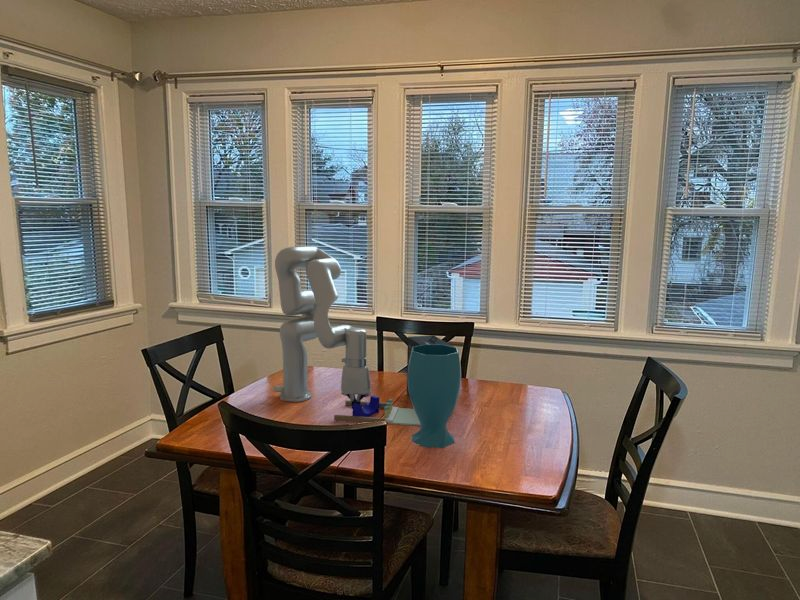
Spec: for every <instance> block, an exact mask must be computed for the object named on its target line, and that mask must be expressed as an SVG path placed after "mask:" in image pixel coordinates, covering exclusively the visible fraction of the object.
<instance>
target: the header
mask: <svg viewBox="0 0 800 600" xmlns="http://www.w3.org/2000/svg"><path fill="white" fill-rule="evenodd" d="M393 401H394V400H393V398H388V399H387V402H380V401H379V409H383V410H384V412H383V413H384V414H383V417H374V416H370V417H360V416H353V415H341V414H334V415H333V421H334V420H336V421H335V422H339V421H345V422H344V423H353V424H354V423H355V424H357V423H358V424H363V423H362V422H375V421H386V422H387V423H388V424H387V425H398V424H400V426H401V425H402V426H412V425H414V426H415V427H421V425H420V421H419V419H418V417H417V415H416V412H415V410H414V408H405V407H404V408H402V407H399V406H393ZM369 402H370V401H367V400H366V401H363V400H362V401H361V405H362V408H363V407H364V406H365V404H367V403H369ZM344 404H345V407H351V408H352V401H351V400H350V399H348V400H347V399H346V400H345V403H344ZM390 423H391V424H390Z"/></svg>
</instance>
